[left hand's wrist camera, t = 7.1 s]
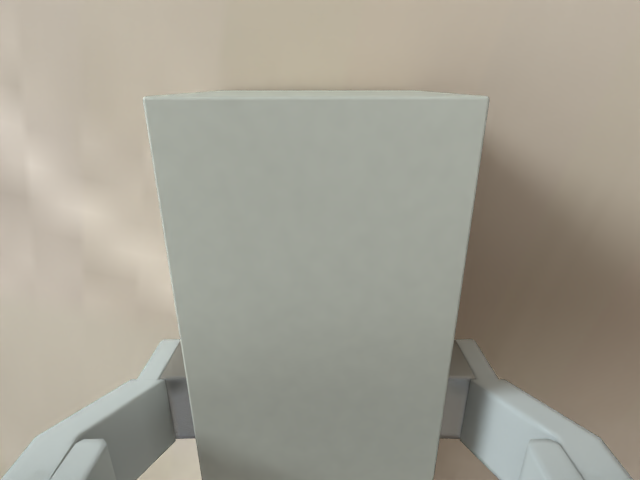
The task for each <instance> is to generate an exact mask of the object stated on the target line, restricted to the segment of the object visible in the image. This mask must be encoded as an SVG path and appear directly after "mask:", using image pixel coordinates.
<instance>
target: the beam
mask: <svg viewBox="0 0 640 480" xmlns="http://www.w3.org/2000/svg"><path fill="white" fill-rule="evenodd" d="M143 103H144V110H145V116H146V123H147V129H148V136H149V142H150V148H151V155H152V161H153V168H154V174H155V180H156V187H157V193H158V200H159V206H160V213H161V219H162V225H163V232H164V238H165V245H166V251H167V258H168V264H169V270H170V277H171V283H172V290H173V296H174V303H175V309H176V315H177V322H178V328H179V335H180V341H181V348H182V354H183V360H184V367H185V373H186V380H187V386H188V393H189V399H190V405H191V412H192V418H193V425H194V431H195V437H196V444H197V450H198V457H199V463H200V470H201V476H202V480H433V479H434V472H435V466H436V459H437V452H438V445H439V438H440V432H441V425H442V418H443V411H444V405H445V398H446V391H447V384H448V377H449V371H450V364H451V357H452V350H453V344H454V337H455V330H456V323H457V316H458V310H459V303H460V296H461V289H462V283H463V276H464V269H465V262H466V255H467V249H468V242H469V235H470V228H471V222H472V215H473V208H474V201H475V194H476V188H477V181H478V174H479V167H480V161H481V154H482V147H483V140H484V133H485V127H486V120H487V113H488V106H489V97H487V96H479V95H467V94H454V93H441V92H429V91H416V90H222V91H209V92H196V93H183V94H170V95H157V96H146V97H144V98H143Z"/></svg>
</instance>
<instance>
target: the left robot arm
mask: <svg viewBox="0 0 640 480" xmlns="http://www.w3.org/2000/svg"><path fill="white" fill-rule="evenodd" d="M185 438H196V437H195V431H194V425H193V418H192V412H191V405H190V399H189V393H188V386H187V380H186V373H185V367H184V360H183V354H182V348H181V341H180V339H164V340H162V341H161V342H160V343H159V345H158V346H157V348H156V349H155V351H154V353H153V354H152V356H151V357H150V359H149V361H148V362H147V364H146V365H145V367H144V369H143V370H142V372H141V373H140V375H139V377H138V378H137V379H131V380H129V381H128V382H126V383H124V384H123V385H121V386H119V387H118V388H116V389H114V390H113V391H111V392H109V393H108V394H106V395H104V396H103V397H101V398H99V399H98V400H96V401H94V402H93V403H91V404H89V405H88V406H86V407H84V408H83V409H81V410H79V411H78V412H76V413H74V414H73V415H71V416H69V417H68V418H66V419H64V420H63V421H61V422H59V423H58V424H56V425H54V426H53V427H51V428H49V429H48V430H46V431H44V432H43V433H41V434H39V435H38V436H36V437H35V438H34V439H33V440H32V442H31V443H30V444H29V445H28V447H27V448H26V449H25V450H24V452H23V453H22V454H21V455H20V456H19V458H18V459H17V460H16V461H15V463H14V464H13V465H12V466H11V468H10V469H9V470H8V471H7V472H6V474H5V475H4V476H3V477H2V479H1V480H136V479H137V478H138V477H139V476H140V475H141V474H143V473H144V472H145V471H146V470H147V469H148V468H149V467H150V466H151V465H152V464H153V463H154V462H155V461H156V460H157V459H158V458H159V457H160V456H161V455H162V454H163V453H164V452H165V451H166V450H167V449H168V448H169V447H170V446H171V445H172V444H173V443H174V442H175V441H176V440H175V439H185ZM440 438H450V439H460V441H461V442H462V443H463V444H464V445H465V446H466V447H467V448H468V449H469V450H470V451H471V452H472V453H473V454H474V455H475V456H476V457H477V458H478V459H479V460H480V461H481V462H482V463H483V464H484V465H485V466H486V467H487V468H488V469H489V470H490V471H491V472H492V473H493V474H494V475H495V476H496V477H497V478H498V479H499V480H633V479H632V477H631V476H630V475H629V474H628V472H627V471H626V470H625V469H624V467H623V466H622V465H621V464H620V462H619V461H618V460H617V458H616V457H615V456H614V455H613V453H612V452H611V451H610V450H609V448H608V447H607V446H606V445H605V443H604V442H603V441H602V439H601V438H600V437H598V436H596V435H595V434H593V433H592V432H590V431H588V430H587V429H585V428H583V427H582V426H580V425H578V424H577V423H575V422H573V421H572V420H570V419H569V418H567V417H565V416H564V415H562V414H560V413H559V412H557V411H555V410H554V409H552V408H550V407H549V406H547V405H546V404H544V403H542V402H541V401H539V400H537V399H536V398H534V397H532V396H531V395H529V394H528V393H526V392H524V391H523V390H521V389H519V388H518V387H516V386H514V385H513V384H511V383H509V382H508V381H506V380H505V379H498V377H497V376H496V374H495V372H494V371H493V369H492V368H491V366H490V364H489V363H488V361H487V360H486V358H485V356H484V355H483V353H482V351H481V350H480V348H479V347H478V345H477V343H476V342H475V341H474V340H473V339H454V344H453V350H452V357H451V364H450V371H449V377H448V384H447V391H446V398H445V405H444V411H443V418H442V425H441V432H440Z"/></svg>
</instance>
